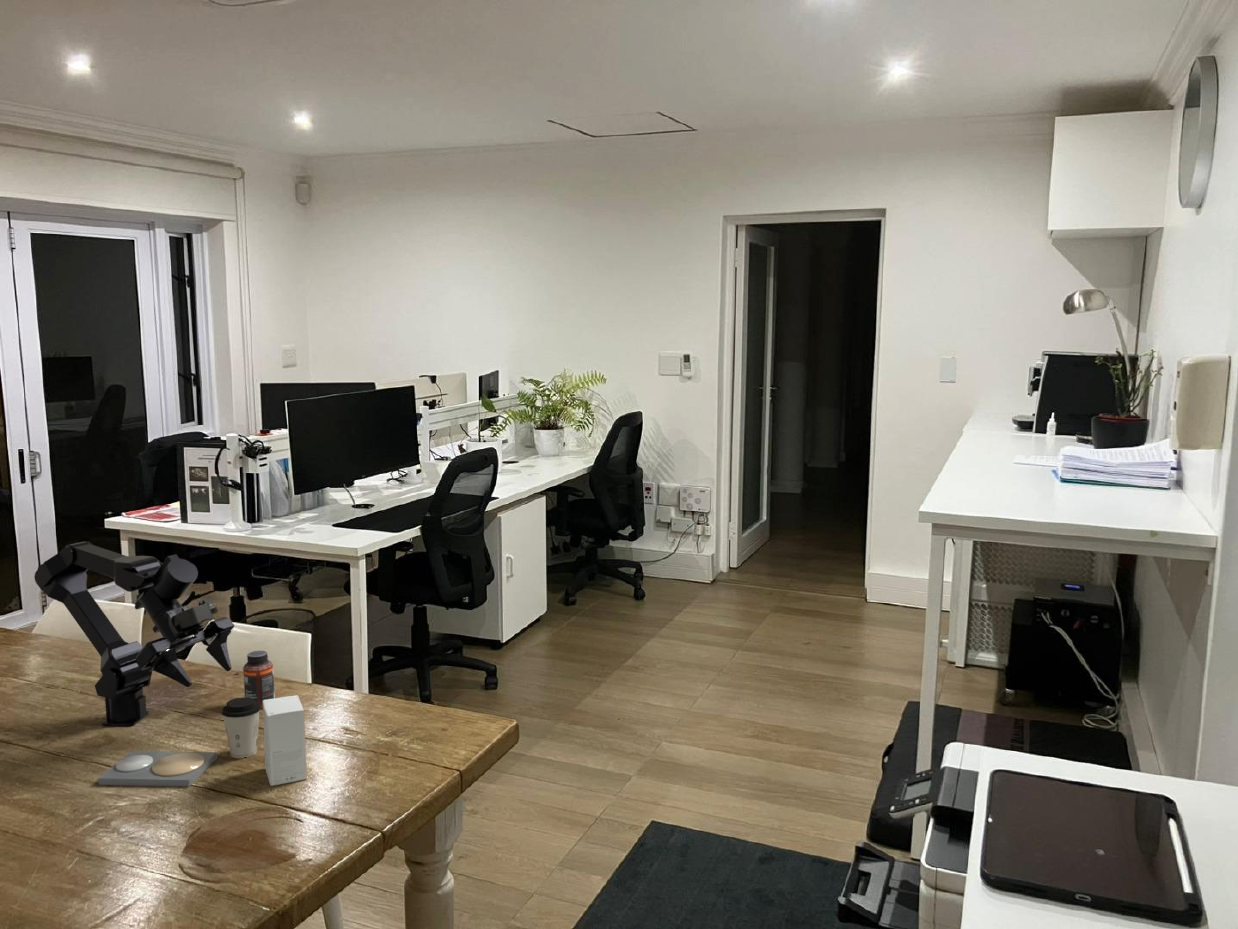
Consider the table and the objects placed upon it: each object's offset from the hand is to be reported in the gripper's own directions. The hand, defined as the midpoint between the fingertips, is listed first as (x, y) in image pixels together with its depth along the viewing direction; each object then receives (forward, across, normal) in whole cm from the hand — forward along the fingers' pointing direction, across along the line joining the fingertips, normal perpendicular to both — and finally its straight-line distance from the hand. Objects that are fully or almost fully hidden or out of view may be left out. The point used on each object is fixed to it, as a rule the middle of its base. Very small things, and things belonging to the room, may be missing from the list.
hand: (210, 677), depth 184 cm
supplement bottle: (+5, +18, +14) cm, 24 cm away
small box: (+25, -3, -6) cm, 25 cm away
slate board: (+10, -12, +9) cm, 18 cm away
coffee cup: (+15, 0, +4) cm, 16 cm away
